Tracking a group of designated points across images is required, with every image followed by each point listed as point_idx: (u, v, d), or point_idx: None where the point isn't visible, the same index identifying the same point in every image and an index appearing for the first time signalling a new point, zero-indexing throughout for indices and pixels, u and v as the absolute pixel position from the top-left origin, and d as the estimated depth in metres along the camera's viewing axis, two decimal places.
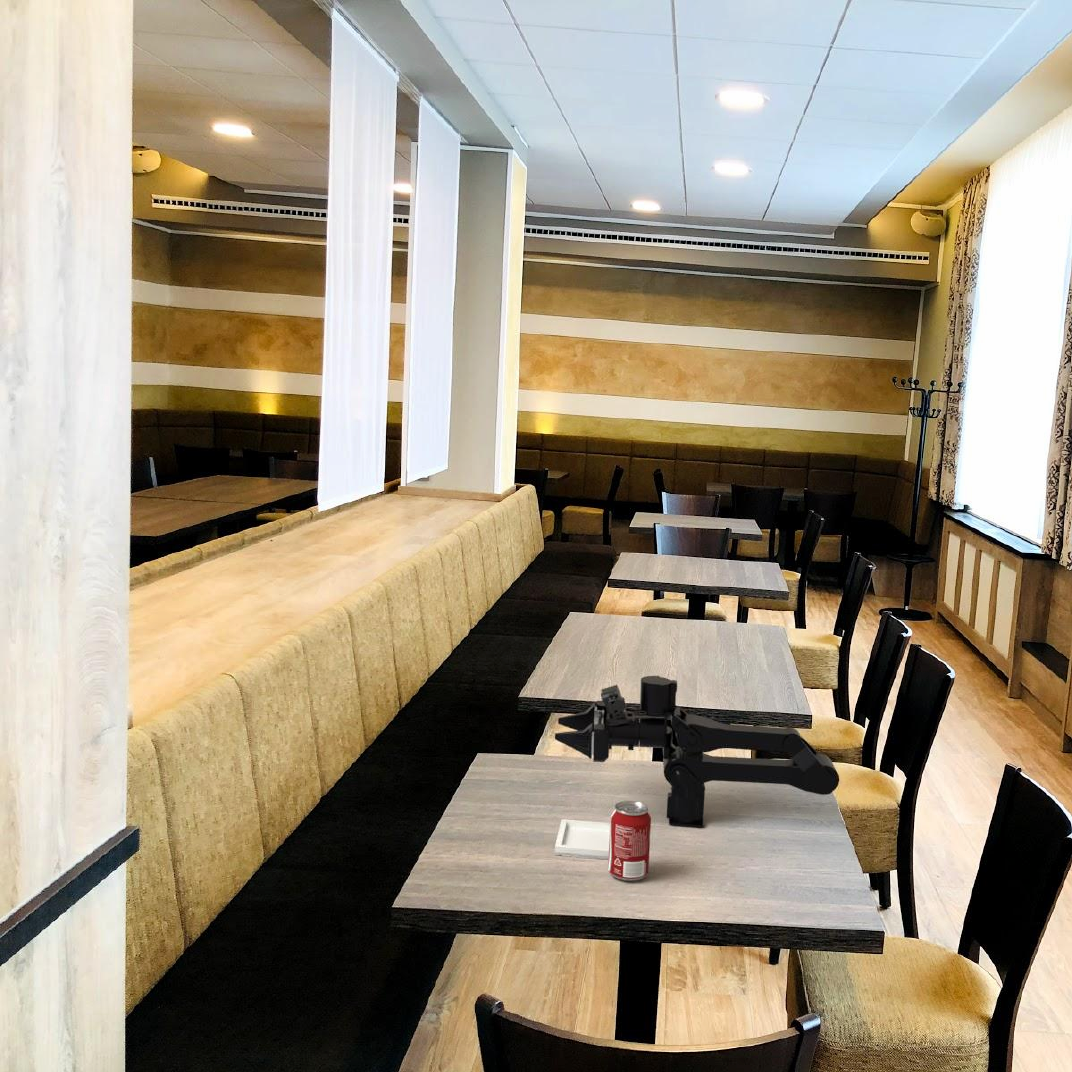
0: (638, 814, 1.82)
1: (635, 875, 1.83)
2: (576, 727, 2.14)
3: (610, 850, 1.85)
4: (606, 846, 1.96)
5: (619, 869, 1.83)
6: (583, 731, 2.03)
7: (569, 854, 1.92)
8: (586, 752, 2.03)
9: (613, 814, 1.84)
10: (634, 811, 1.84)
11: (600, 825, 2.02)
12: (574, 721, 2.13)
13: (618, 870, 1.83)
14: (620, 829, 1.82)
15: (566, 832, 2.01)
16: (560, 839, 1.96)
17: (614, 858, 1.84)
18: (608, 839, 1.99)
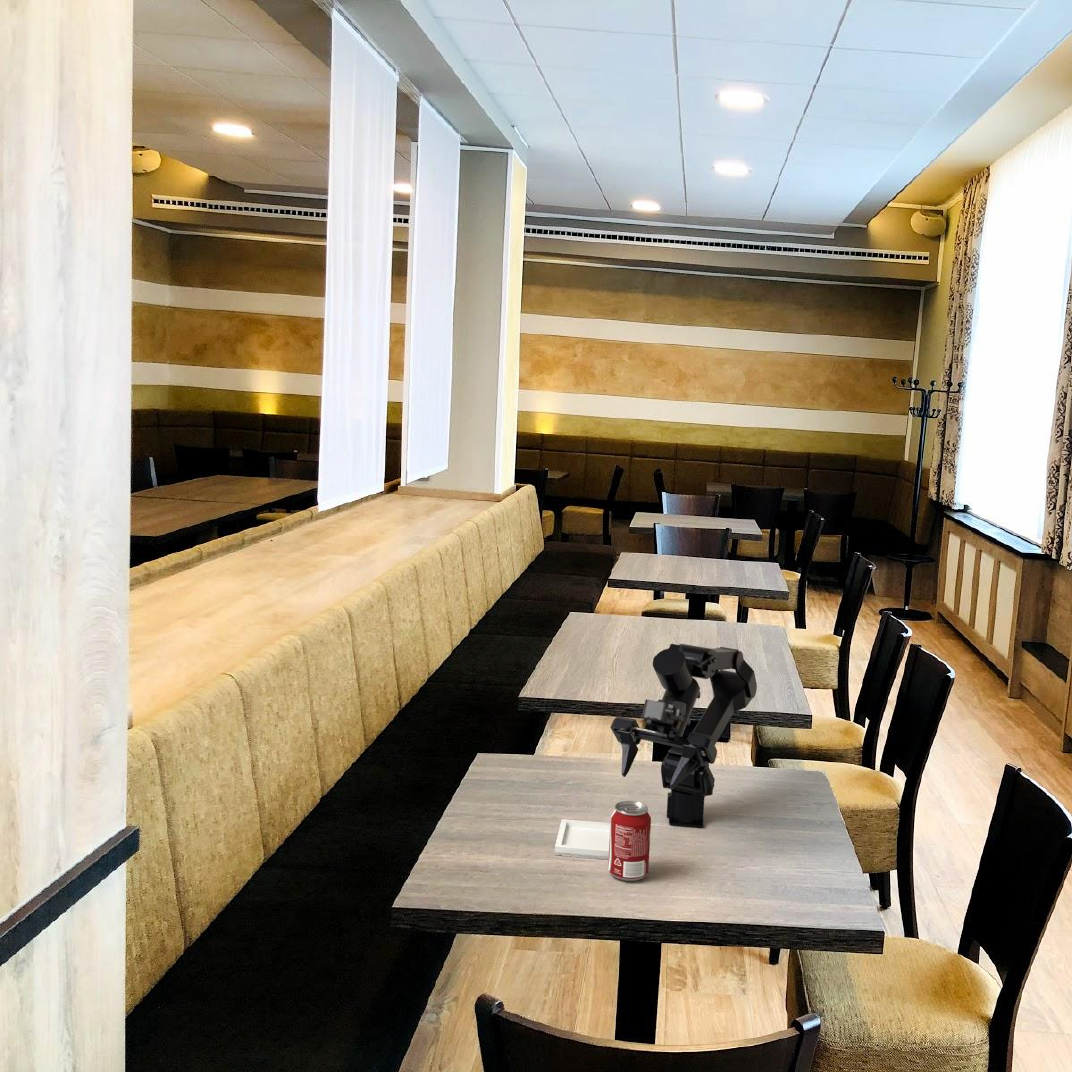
0: (638, 814, 1.82)
1: (635, 875, 1.83)
2: (631, 761, 1.96)
3: (610, 850, 1.85)
4: (606, 846, 1.96)
5: (619, 869, 1.83)
6: (686, 757, 1.90)
7: (569, 854, 1.92)
8: (696, 765, 1.93)
9: (613, 814, 1.84)
10: (634, 811, 1.84)
11: (600, 825, 2.02)
12: (629, 760, 1.95)
13: (618, 870, 1.83)
14: (620, 829, 1.82)
15: (566, 832, 2.01)
16: (560, 839, 1.96)
17: (614, 858, 1.84)
18: (608, 839, 1.99)
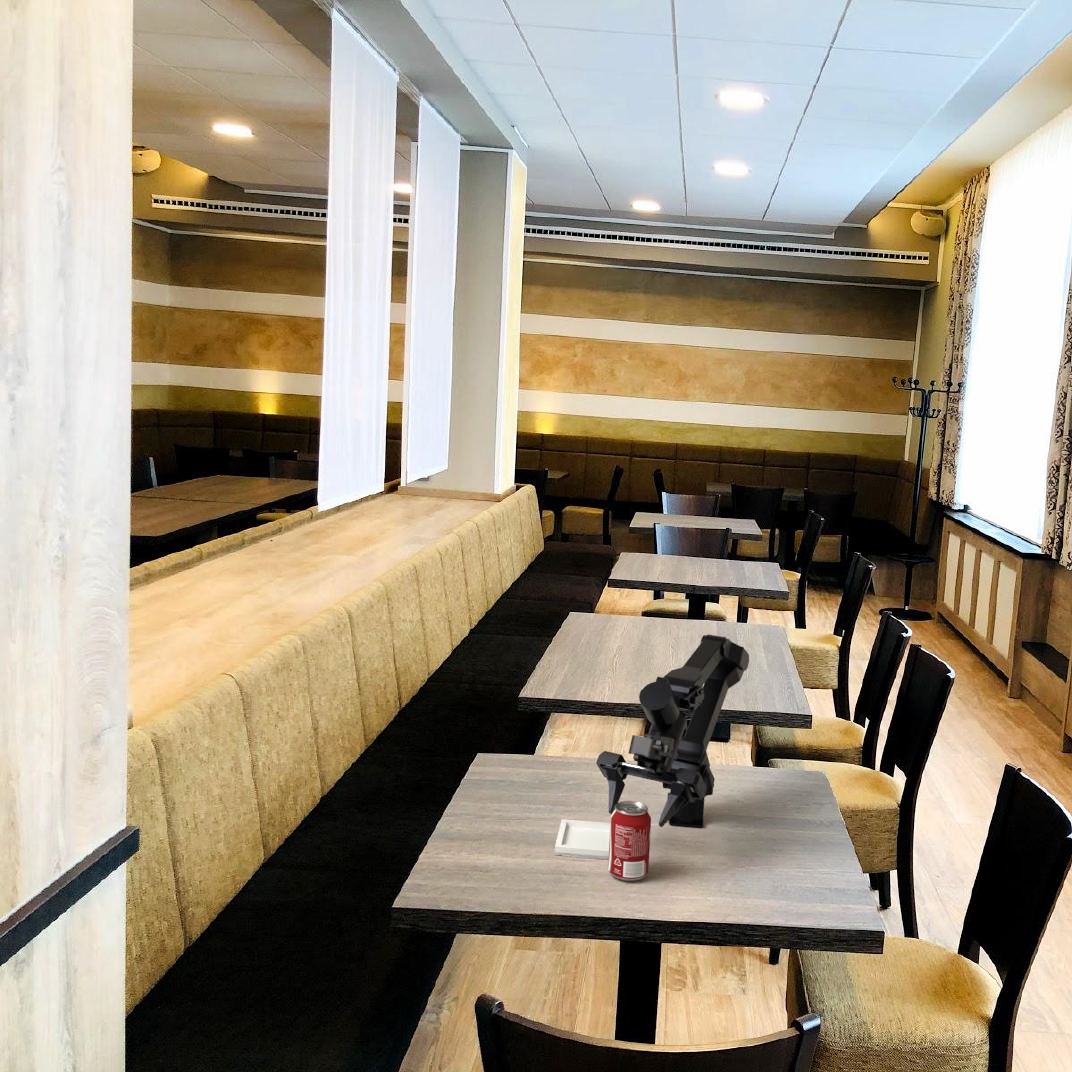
0: (638, 814, 1.82)
1: (635, 875, 1.83)
2: (618, 797, 1.91)
3: (610, 850, 1.85)
4: (606, 846, 1.96)
5: (619, 869, 1.83)
6: (675, 794, 1.85)
7: (569, 854, 1.92)
8: (685, 801, 1.88)
9: (613, 814, 1.84)
10: (634, 811, 1.84)
11: (600, 825, 2.02)
12: (616, 796, 1.90)
13: (618, 870, 1.83)
14: (620, 829, 1.82)
15: (566, 832, 2.01)
16: (560, 839, 1.96)
17: (614, 858, 1.84)
18: (608, 839, 1.99)
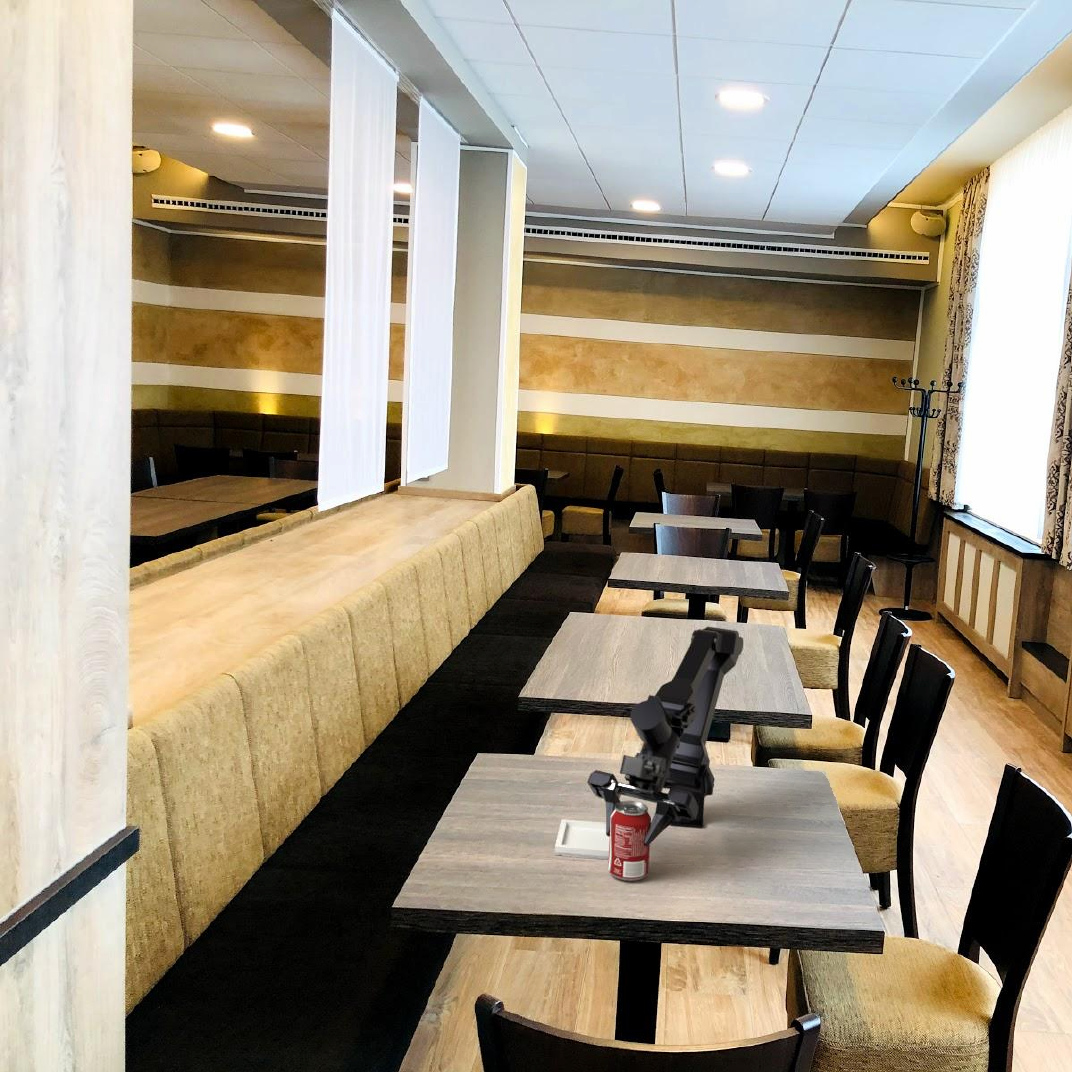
0: (638, 814, 1.82)
1: (635, 874, 1.83)
2: None
3: (610, 850, 1.85)
4: (606, 846, 1.96)
5: (619, 869, 1.83)
6: (660, 813, 1.83)
7: (569, 854, 1.92)
8: (670, 820, 1.86)
9: (613, 814, 1.84)
10: (634, 811, 1.84)
11: (600, 825, 2.02)
12: None
13: (618, 870, 1.83)
14: (620, 829, 1.82)
15: (566, 832, 2.01)
16: (560, 839, 1.96)
17: (614, 858, 1.84)
18: (608, 839, 1.99)
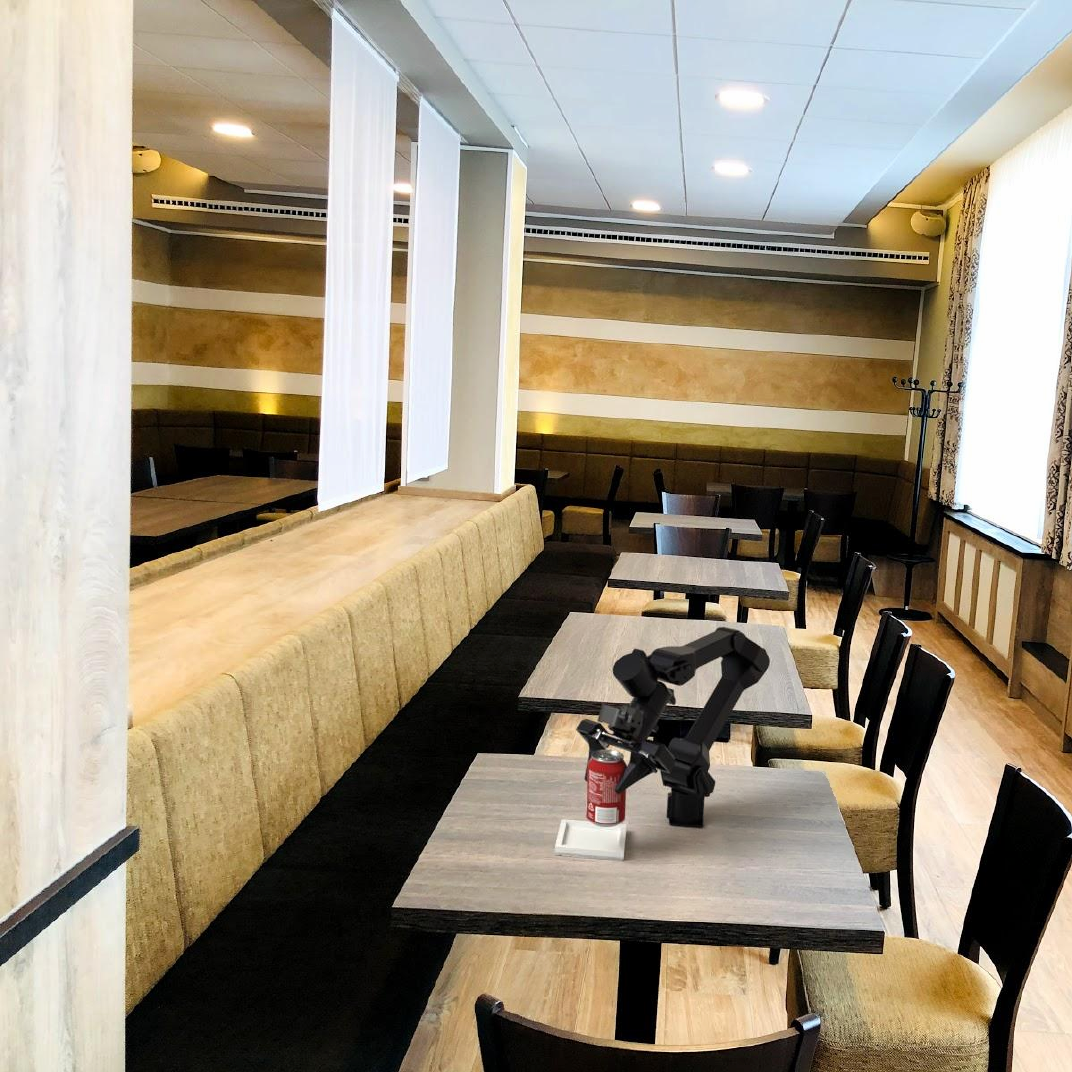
0: (610, 762, 1.87)
1: (607, 820, 1.88)
2: None
3: None
4: (606, 846, 1.96)
5: (592, 813, 1.89)
6: (633, 763, 1.87)
7: (569, 854, 1.92)
8: (647, 772, 1.90)
9: (590, 760, 1.90)
10: (609, 759, 1.89)
11: None
12: None
13: (591, 814, 1.89)
14: (592, 775, 1.88)
15: (566, 832, 2.01)
16: (560, 839, 1.96)
17: (588, 802, 1.90)
18: (608, 839, 1.99)
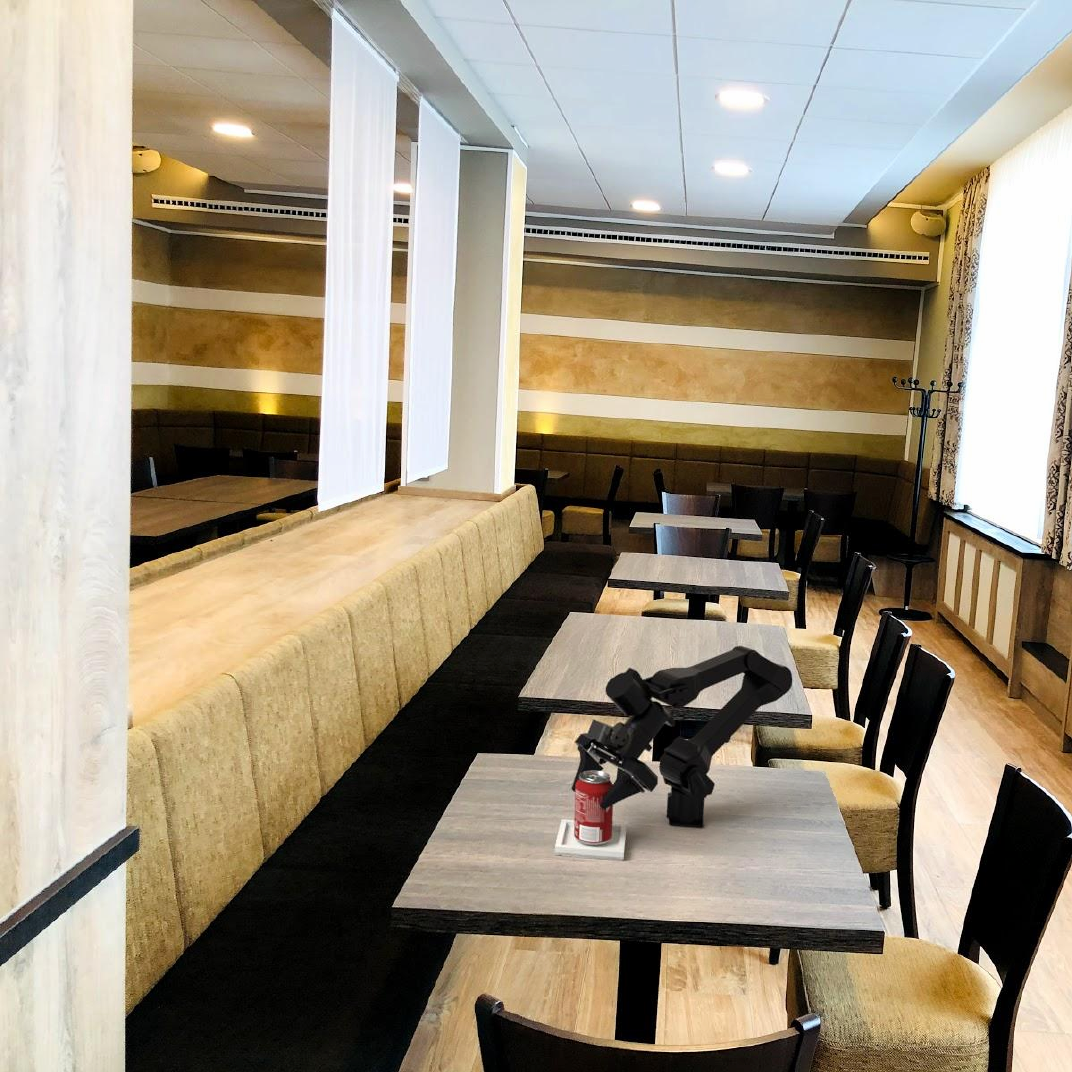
0: (593, 782, 1.93)
1: (589, 839, 1.95)
2: None
3: None
4: (606, 846, 1.96)
5: (577, 831, 1.96)
6: (619, 780, 1.92)
7: (569, 854, 1.92)
8: (635, 790, 1.93)
9: None
10: (595, 780, 1.95)
11: None
12: None
13: (576, 832, 1.96)
14: (577, 794, 1.95)
15: (566, 832, 2.01)
16: (560, 839, 1.96)
17: (575, 820, 1.97)
18: None
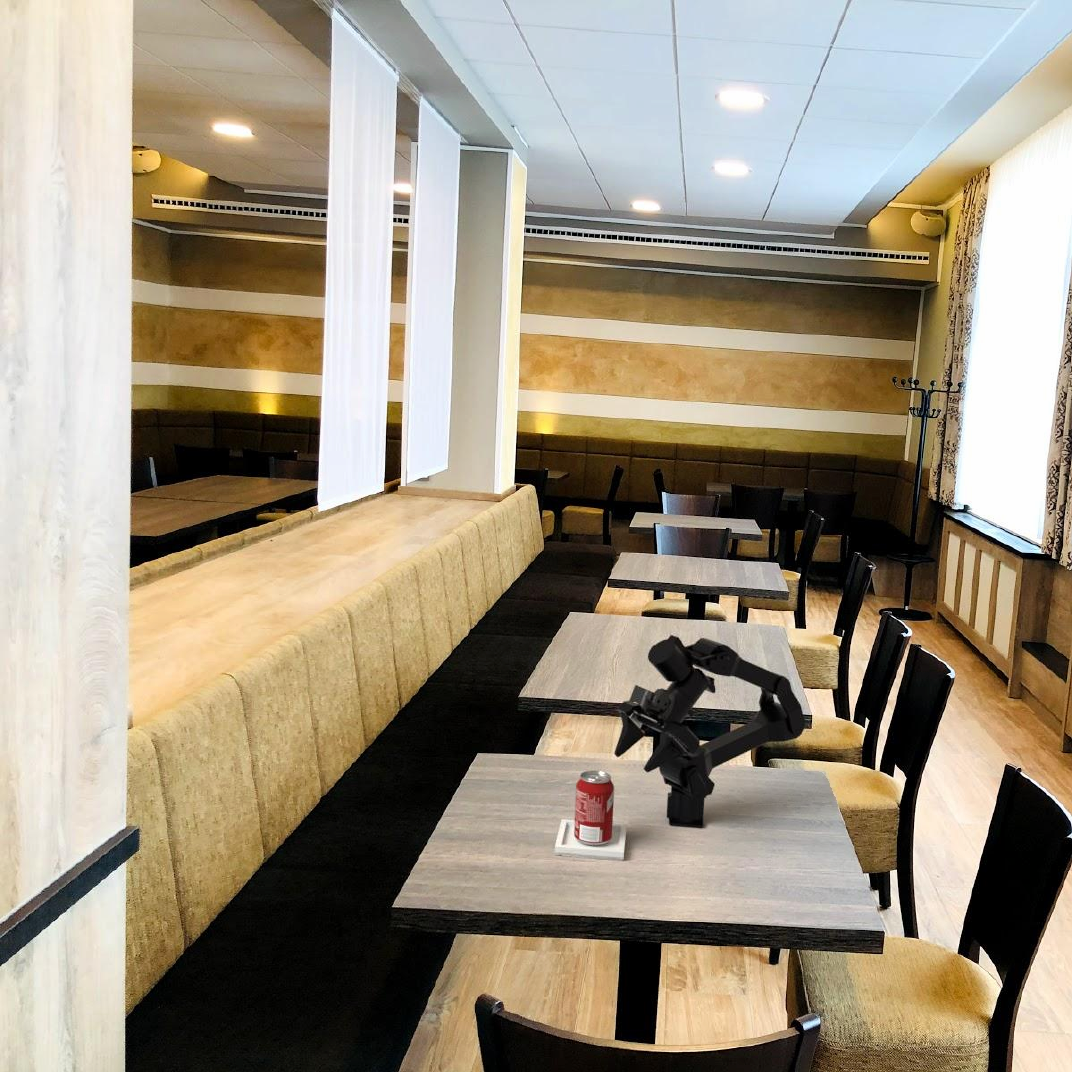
0: (594, 782, 1.94)
1: (590, 839, 1.95)
2: (631, 744, 2.06)
3: None
4: (606, 846, 1.96)
5: (577, 831, 1.96)
6: (662, 744, 1.96)
7: (569, 854, 1.92)
8: (678, 754, 1.97)
9: None
10: (596, 780, 1.96)
11: None
12: (626, 742, 2.05)
13: (576, 832, 1.96)
14: (578, 793, 1.95)
15: (566, 832, 2.01)
16: (560, 839, 1.96)
17: (575, 820, 1.97)
18: None
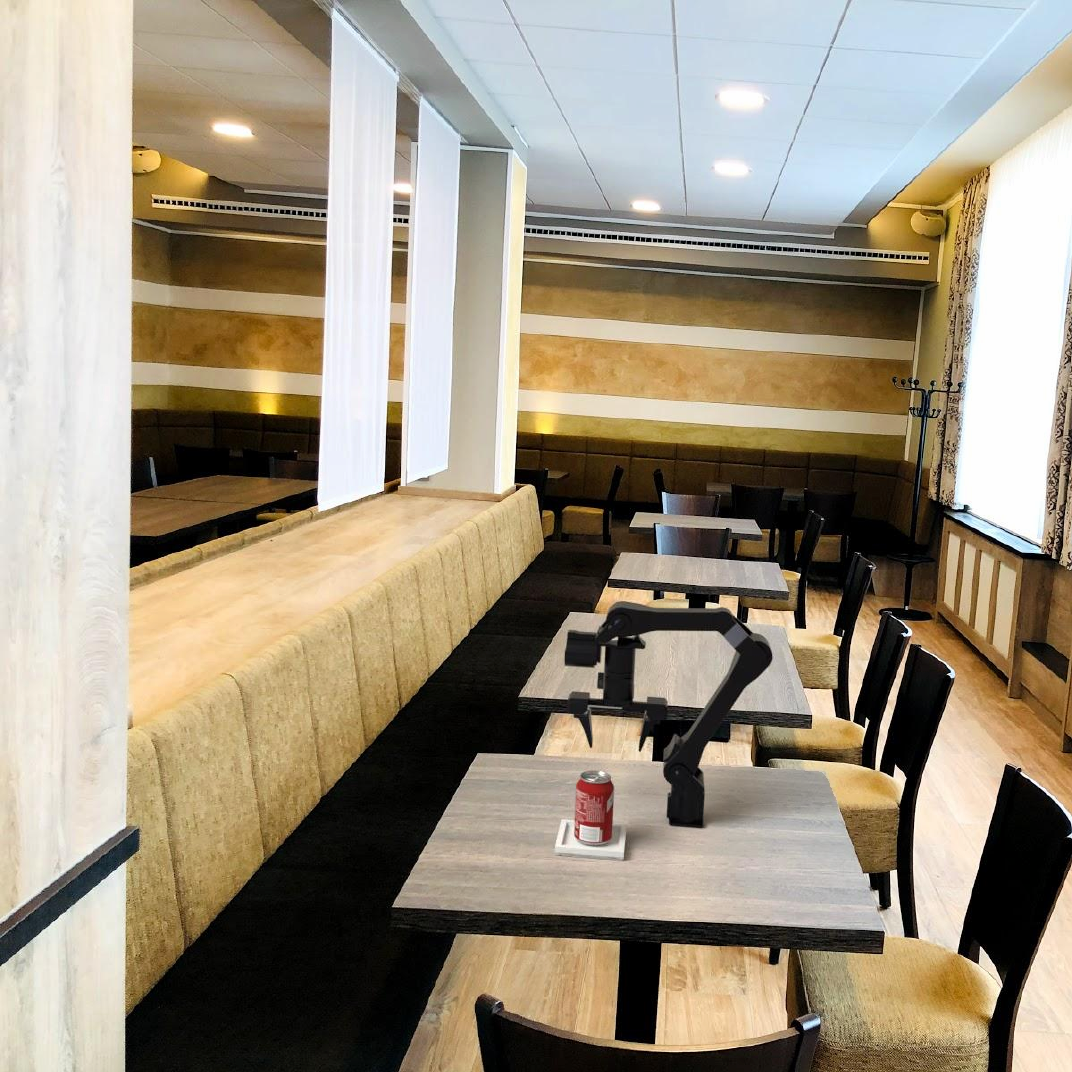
0: (594, 782, 1.94)
1: (590, 839, 1.95)
2: (641, 735, 2.07)
3: None
4: (606, 846, 1.96)
5: (577, 831, 1.96)
6: None
7: (569, 854, 1.92)
8: None
9: None
10: (596, 780, 1.96)
11: None
12: (640, 735, 2.08)
13: (576, 832, 1.96)
14: (578, 793, 1.95)
15: (566, 832, 2.01)
16: (560, 839, 1.96)
17: (575, 820, 1.97)
18: None
